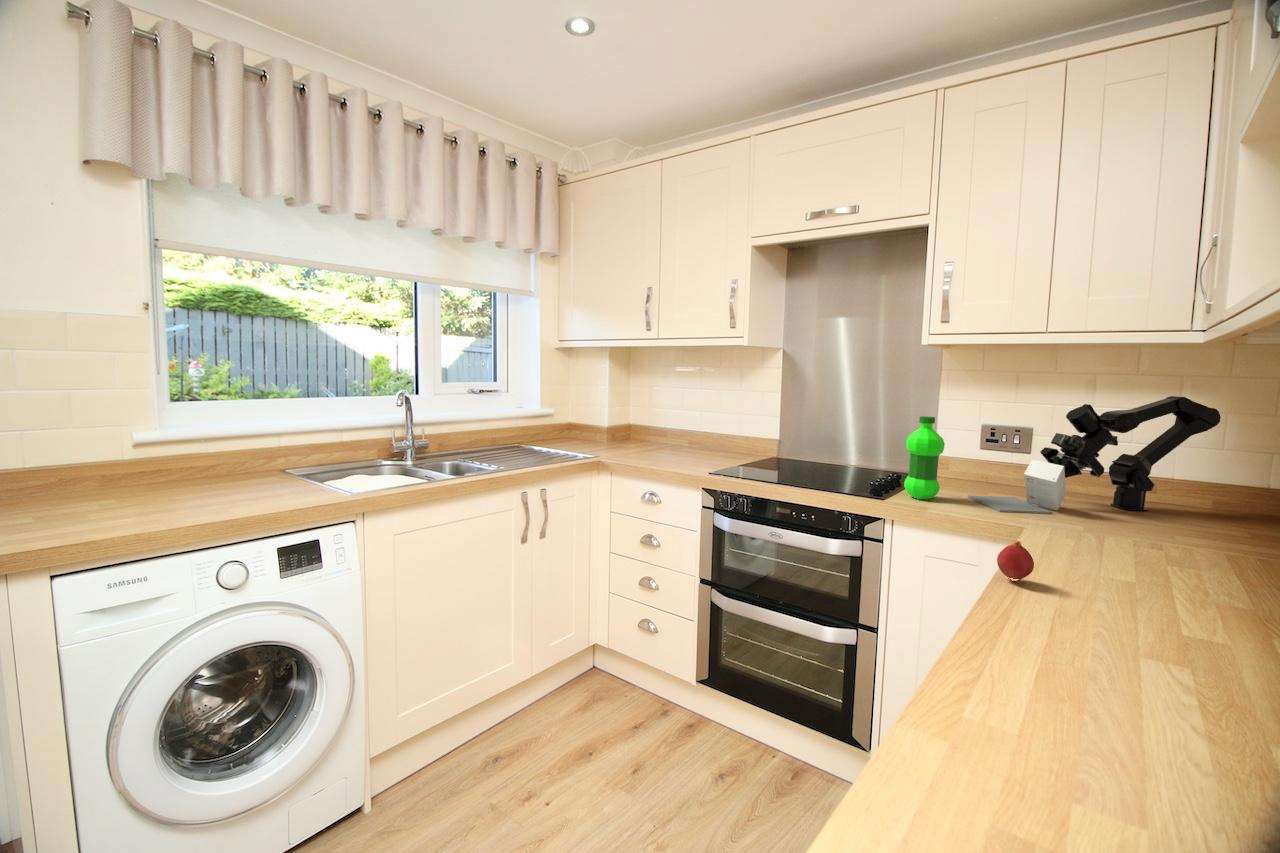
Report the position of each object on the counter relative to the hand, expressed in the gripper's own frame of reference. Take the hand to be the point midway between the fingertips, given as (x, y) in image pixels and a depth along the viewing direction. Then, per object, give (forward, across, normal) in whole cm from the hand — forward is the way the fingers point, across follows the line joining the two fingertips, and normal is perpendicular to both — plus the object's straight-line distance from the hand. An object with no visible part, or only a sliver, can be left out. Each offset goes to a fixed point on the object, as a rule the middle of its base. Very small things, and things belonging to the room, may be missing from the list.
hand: (1048, 480), depth 171 cm
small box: (+4, 0, +4) cm, 6 cm away
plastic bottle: (+30, -8, -18) cm, 35 cm away
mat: (+13, -1, -2) cm, 14 cm away
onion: (+42, +60, -30) cm, 80 cm away
